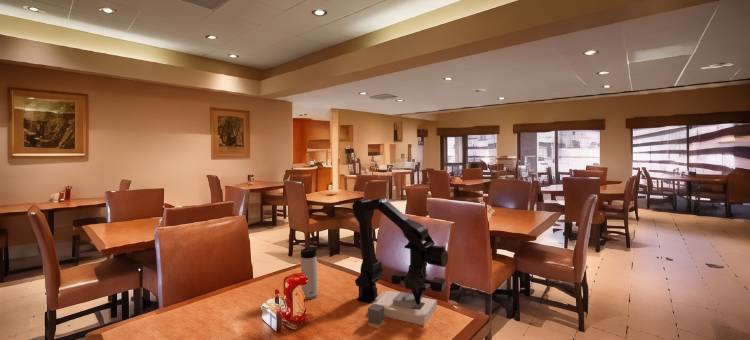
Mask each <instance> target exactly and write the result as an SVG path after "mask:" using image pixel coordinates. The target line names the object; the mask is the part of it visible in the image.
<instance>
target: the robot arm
mask: <svg viewBox="0 0 750 340" xmlns="http://www.w3.org/2000/svg"><path fill="white" fill-rule="evenodd" d="M351 208H352V212H353V216H354V218H355V219H356V221H357V222H358V225H359V226H358V227H359V236H360V242H361V251H362V262H361V265H360V271H359V272H360V275H359V276H358V277H356V279H355V280H354V283H355V285H356V287H358V297H356V301H360V302H364V303H370V304H371V303H372V304H373V303H374V302H375V301H376V297H378V296H379V295H378V287H377V282H378V281H379V280H380V278H381V276H382V273H383V271H384V269H383V263H382V261H381V260H378V259H377V258H376V251H375V250H376V249H375V242H374V233H373V226H372V223H373V222H372V219H373V216H374V214H375V210H377V211H379V212H380V213H382V214H383V215H384V216H385V217H386V218H387V219H388V220H390V221H391V222H392V223H393V224H394V225H396V226H397V228H398V229H400V230H401V232H402V234H403V236H404V237H405V239H407V241H408V243H407V244H405V245H404V249H408V250H409V265H408V271H407V272H406V271H400V270H396V272H395V273H393V275H392V276H391V280H390V281H391V282H390V283H391V284H395V285H400V284H401V283H402V281H403V285H404V288H405V289H407V290H408V289H409V290H410V291H411V294H413V295H414V298H415V301H416V303H417V305H419V304H420V302H421V299H422V297H423V298H424V294H425V292H427V290H428V289H429V288H430V290H432V291H433V292H437V293H441V292H443V291H444V289H445V288H446V287H447V281H446V279H445V278H441V277H436V276H435V277H434V278H433V279H429V278H428V273H427V267H428V265H431V266H435V267H442V268H445V267H446V266H447V264H448V262H449V254H448V251H447V249H446V246H445V245H435V242H434V240H433V238H432V237H431V235H430V234H429V229H428V228H427V227H426V226H425V225H423V224H422V223H419V222H418V221H415V220H412V219H410V217H407V215H405V214H404V213H403V212H401V211H400V210H399V209H398V208H397V207H395V206H394V205H393V204H392V203H390V202H389V201H388V199H387V198H385V197H379V198H375V199H370V198H369V197H368V198H367V197H366V198H363V199H357V200H355V201H354V202H353V204H352V207H351Z"/></svg>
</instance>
